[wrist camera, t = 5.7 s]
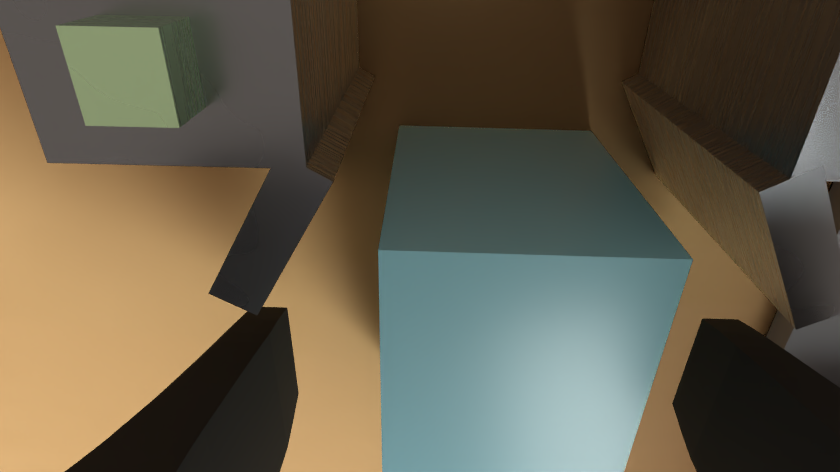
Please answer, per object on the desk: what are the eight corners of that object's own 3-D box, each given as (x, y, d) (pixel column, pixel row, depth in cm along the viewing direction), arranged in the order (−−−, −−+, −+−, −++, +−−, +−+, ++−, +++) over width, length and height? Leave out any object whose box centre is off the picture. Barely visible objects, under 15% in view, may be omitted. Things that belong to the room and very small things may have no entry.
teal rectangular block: (539, 398, 13) (584, 593, 9) (398, 393, 13) (384, 586, 9) (589, 129, 10) (693, 259, 6) (399, 123, 10) (377, 250, 6)
